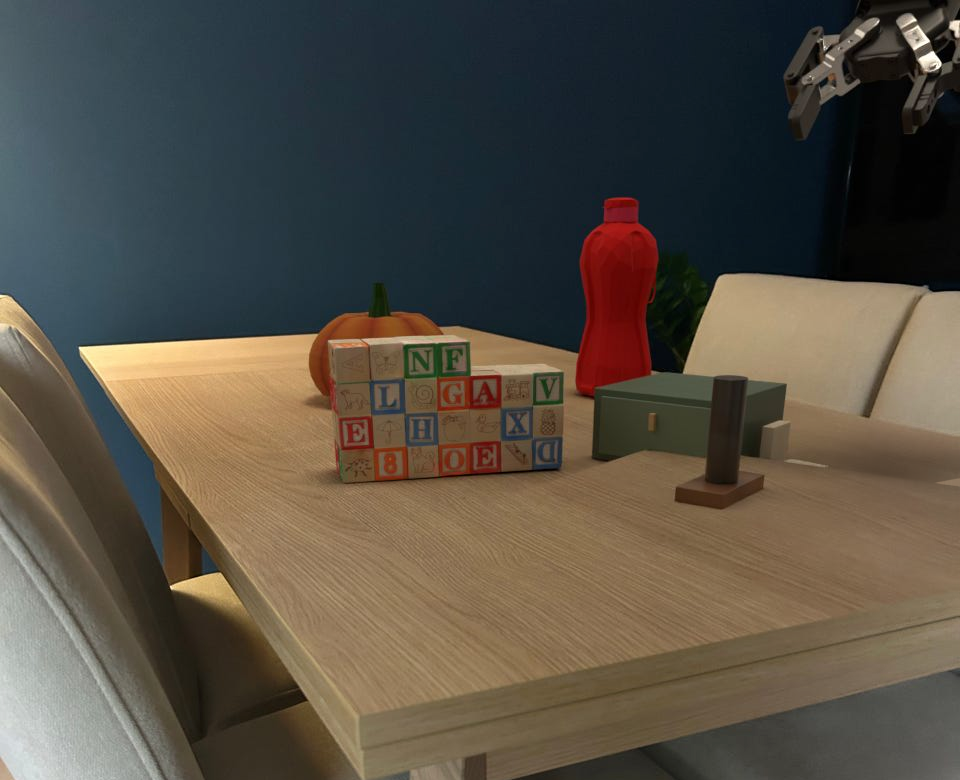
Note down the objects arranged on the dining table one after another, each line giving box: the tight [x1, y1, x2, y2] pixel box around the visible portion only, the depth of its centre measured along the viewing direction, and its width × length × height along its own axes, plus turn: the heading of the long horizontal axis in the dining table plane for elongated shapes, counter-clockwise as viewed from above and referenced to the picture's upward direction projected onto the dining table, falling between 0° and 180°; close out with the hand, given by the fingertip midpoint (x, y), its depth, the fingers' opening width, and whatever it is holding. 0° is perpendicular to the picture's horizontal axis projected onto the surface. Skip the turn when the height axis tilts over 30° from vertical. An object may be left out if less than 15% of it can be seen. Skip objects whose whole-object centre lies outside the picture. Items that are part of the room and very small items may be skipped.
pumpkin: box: [308, 282, 445, 398], centre depth 129 cm, size 19×19×15 cm
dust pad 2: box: [782, 458, 829, 469], centre depth 90 cm, size 4×4×1 cm
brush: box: [674, 374, 765, 510], centre depth 76 cm, size 8×4×11 cm, turn 142°
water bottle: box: [574, 197, 659, 398], centre depth 130 cm, size 9×11×25 cm
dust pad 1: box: [758, 420, 792, 462], centre depth 95 cm, size 4×4×1 cm
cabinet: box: [591, 371, 788, 462], centre depth 98 cm, size 14×15×7 cm
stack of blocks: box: [328, 334, 565, 484], centre depth 92 cm, size 21×6×12 cm, turn 104°
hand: (850, 128), depth 75 cm, fingers open, 8 cm apart
